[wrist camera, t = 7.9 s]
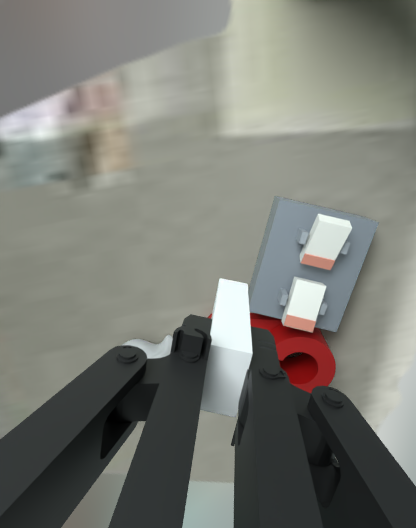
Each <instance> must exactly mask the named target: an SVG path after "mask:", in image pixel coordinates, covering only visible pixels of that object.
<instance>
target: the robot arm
mask: <svg viewBox="0 0 416 528" xmlns="http://www.w3.org/2000/svg"><path fill="white" fill-rule="evenodd" d="M276 350H277V349H276V345H275V339H274V336H273V335H272V334H271V333H270V331H269V330H267V329H262V328H257V327H252V326H251V325H250V311H249V297H248V284H246V283H241V282H236V281H231V280H226V279H221V278H220V279H219V284H218V289H217V294H216V298H215V303H214V308H213V313H212V318H211V319H210V318H205V317H201V316H196V315H189V316H188V317H186V318H185V319H184V321H183V324H182V326H181V327H179V328H177V329H176V330H175V331H174V334H173V340H172V346H171V352H170V354H169V355H167V356H165V357H162V358H147V354H146V353H145V352H144V351H143V350H142V349H140V348H138V347H135V346H131V345H122V346H117V347H114V348H113V349H111V350H109V351H108V352H107V353H106V354H104V355H103V356H102V357H101V358H100V359H98V360H97V361H96V362H95V363H93V364H92V365H91V366H90V367H89V368H87V369H86V370H85V371H84V372H82V373H81V374H80V375H79V376H77V377H76V378H75V379H74V380H73V381H71V382H70V383H69V384H68V385H66V386H65V387H64V388H63V389H62V390H60V391H59V392H58V393H57V394H55V395H54V396H53V397H52V398H51V399H49V400H48V401H47V402H46V403H44V404H43V405H42V406H41V407H40V408H38V409H37V410H36V411H35V412H33V413H32V414H31V415H30V416H29V417H27V418H26V419H25V420H24V421H22V422H21V423H20V424H19V425H18V426H16V427H15V428H14V429H13V430H11V431H10V432H9V433H8V434H7V435H5V436H4V437H3V438H2V439H0V528H61V527H62V526H63V524H64V523H65V521H66V520H67V519H68V517H69V516H70V515H71V513H72V512H73V511H74V509H75V508H76V506H77V505H78V504H79V503H80V501H81V500H82V499H83V497H84V496H85V495H86V493H87V492H88V490H89V489H90V488H91V486H92V485H93V484H94V482H95V481H96V480H97V478H98V477H99V476H100V474H101V473H102V472H103V470H104V469H105V468H106V466H107V465H108V464H109V462H110V461H111V459H112V458H113V457H114V455H115V454H116V453H117V451H118V450H119V449H120V447H121V446H122V445H123V443H124V442H125V441H126V439H127V438H128V437H129V435H130V434H131V433H132V431H133V430H134V428H135V427H136V425H137V423H138V421H146V423H145V426H144V428H143V431H142V434H141V437H140V440H139V443H138V445H137V448H136V451H135V454H134V457H133V460H132V462H131V465H130V468H129V471H128V474H127V477H126V479H125V482H124V485H123V488H122V491H121V494H120V497H119V499H118V502H117V505H116V508H115V510H114V513H113V516H112V519H111V522H110V525H109V527H108V528H182V525H183V518H184V511H185V505H186V498H187V491H188V484H189V479H190V472H191V466H192V459H193V453H194V446H195V439H196V433H197V426H198V420H199V413H200V410H204V411H208V412H213V413H217V414H222V415H227V416H231V417H236V415H237V411H238V420H237V424H236V428H235V431H234V435H233V439H232V443H231V446H234V444H235V475H234V528H416V486H415V485H414V484H413V482H412V481H411V480H410V478H409V477H408V476H407V474H406V473H405V472H404V470H403V469H402V468H401V466H400V465H399V464H398V463H397V461H396V460H395V459H394V457H393V456H392V455H391V453H390V452H389V451H388V449H387V448H386V447H385V445H384V444H383V443H382V441H381V440H380V439H379V437H378V436H377V435H376V433H375V432H374V431H373V429H372V428H371V427H370V426H369V424H368V423H367V422H366V420H365V419H364V418H363V416H362V415H361V414H360V412H359V411H358V410H357V408H356V407H355V406H354V404H353V403H352V402H351V400H350V399H349V398H348V397H347V396H346V395H344V394H343V393H341V392H340V391H338V390H337V389H334V388H332V387H328V386H316V387H315V388H313V389H312V392H311V393H309V392H306V391H304V390H302V389H300V388H298V387H296V386H294V385H292V384H291V383H290V380H289V377H288V375H287V373H286V372H285V371H284V370H283V369H282V368H281V367H280V364H279V359H278V354H277V351H276ZM335 457H336V458H335ZM336 459H337V460H336ZM337 461H338V462H337Z"/></svg>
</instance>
